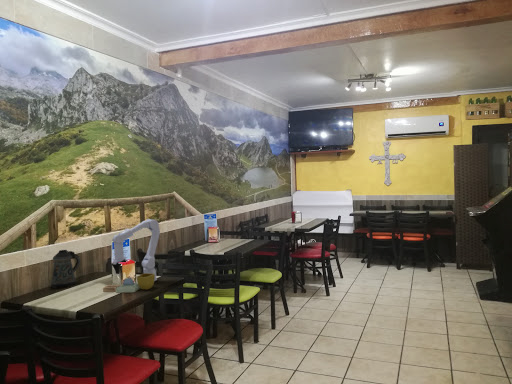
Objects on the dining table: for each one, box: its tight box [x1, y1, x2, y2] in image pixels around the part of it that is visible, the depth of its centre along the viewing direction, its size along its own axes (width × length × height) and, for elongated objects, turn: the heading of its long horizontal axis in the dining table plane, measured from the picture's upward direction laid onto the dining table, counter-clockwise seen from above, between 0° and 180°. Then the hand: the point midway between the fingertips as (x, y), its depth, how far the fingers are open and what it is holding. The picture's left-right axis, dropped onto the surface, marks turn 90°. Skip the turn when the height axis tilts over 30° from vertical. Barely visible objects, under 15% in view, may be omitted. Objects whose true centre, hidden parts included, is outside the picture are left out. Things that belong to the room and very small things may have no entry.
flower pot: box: [136, 272, 155, 290], centre depth 259 cm, size 9×9×9 cm
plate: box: [122, 277, 135, 285], centre depth 258 cm, size 1×7×7 cm, turn 83°
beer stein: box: [50, 249, 81, 289], centre depth 282 cm, size 16×19×25 cm
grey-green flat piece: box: [116, 282, 141, 294], centre depth 259 cm, size 11×13×3 cm
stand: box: [102, 284, 121, 293], centre depth 260 cm, size 6×9×3 cm
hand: (120, 272), depth 265 cm, fingers open, 7 cm apart
